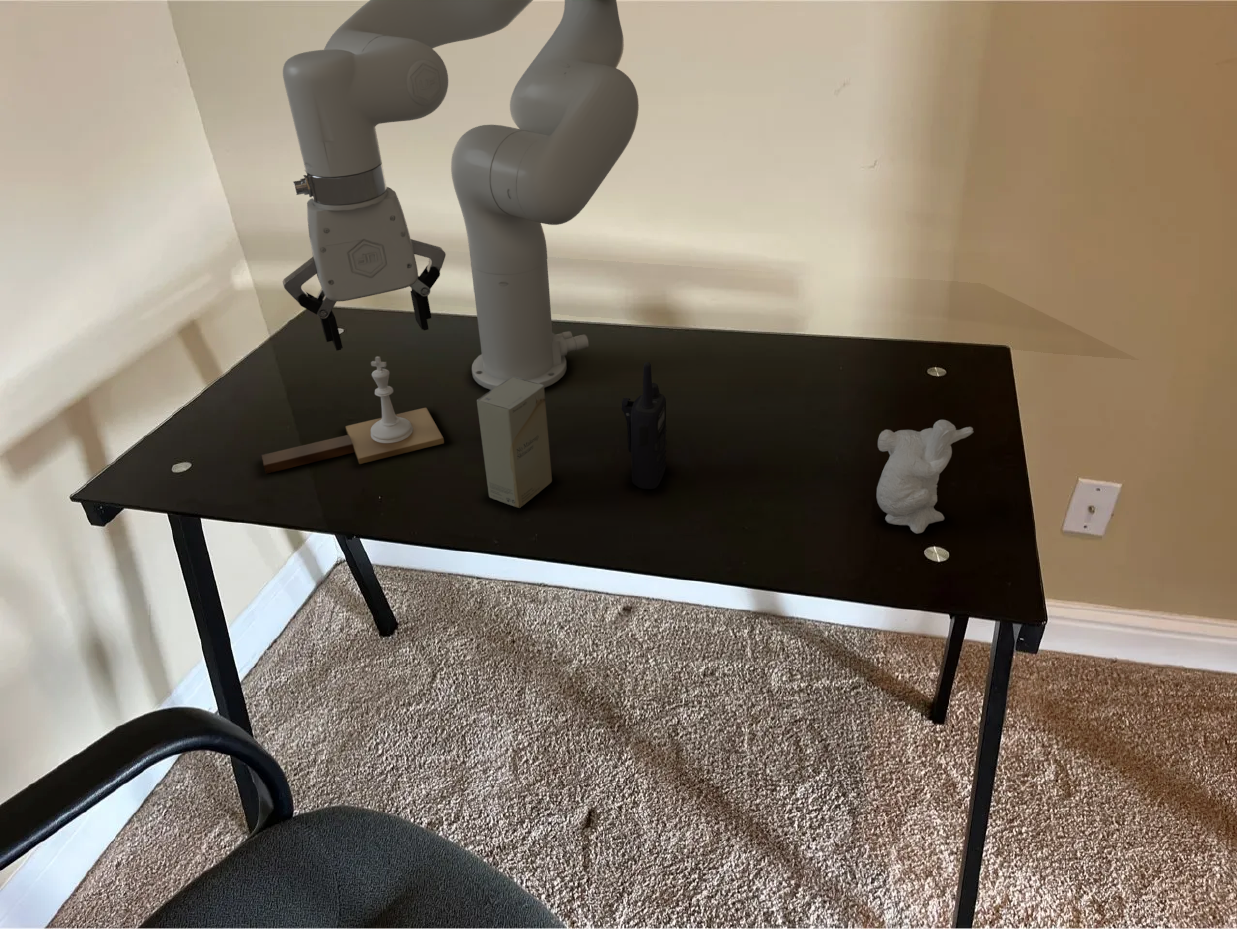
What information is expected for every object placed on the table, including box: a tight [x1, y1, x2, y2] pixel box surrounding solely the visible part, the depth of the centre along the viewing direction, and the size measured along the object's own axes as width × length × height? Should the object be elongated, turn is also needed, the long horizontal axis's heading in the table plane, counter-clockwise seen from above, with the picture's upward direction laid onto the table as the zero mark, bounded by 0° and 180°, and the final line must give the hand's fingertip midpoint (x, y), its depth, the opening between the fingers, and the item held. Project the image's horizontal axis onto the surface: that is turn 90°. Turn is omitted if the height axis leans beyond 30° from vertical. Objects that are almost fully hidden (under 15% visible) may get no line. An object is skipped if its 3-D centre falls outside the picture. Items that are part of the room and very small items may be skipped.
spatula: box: [261, 407, 445, 475], centre depth 108 cm, size 20×8×1 cm, turn 114°
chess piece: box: [370, 355, 413, 443], centre depth 107 cm, size 5×5×10 cm
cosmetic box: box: [476, 377, 553, 509], centre depth 97 cm, size 6×4×12 cm
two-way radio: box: [621, 361, 668, 490], centre depth 98 cm, size 6×4×15 cm
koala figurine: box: [875, 419, 975, 535], centre depth 91 cm, size 8×7×12 cm
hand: (380, 335), depth 103 cm, fingers open, 9 cm apart
